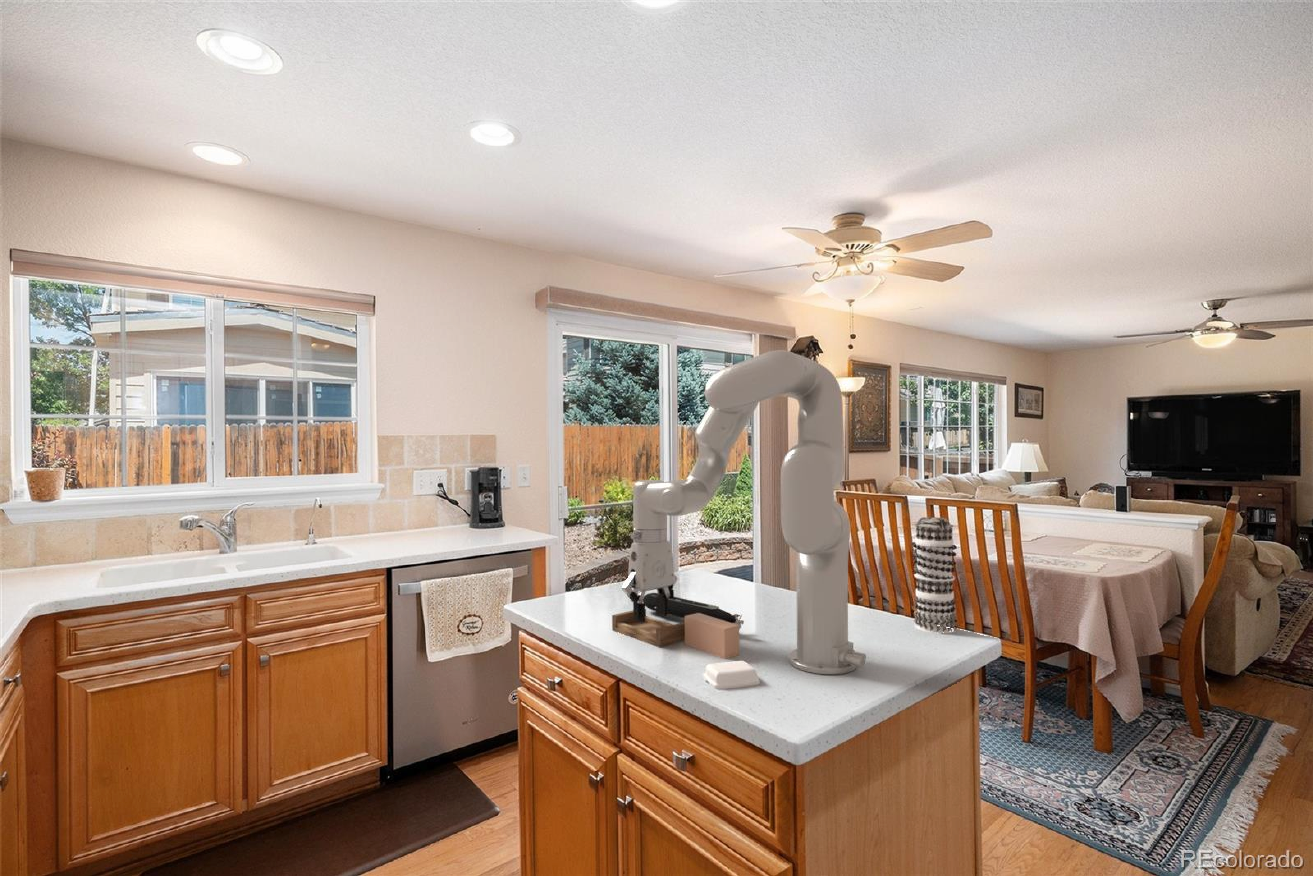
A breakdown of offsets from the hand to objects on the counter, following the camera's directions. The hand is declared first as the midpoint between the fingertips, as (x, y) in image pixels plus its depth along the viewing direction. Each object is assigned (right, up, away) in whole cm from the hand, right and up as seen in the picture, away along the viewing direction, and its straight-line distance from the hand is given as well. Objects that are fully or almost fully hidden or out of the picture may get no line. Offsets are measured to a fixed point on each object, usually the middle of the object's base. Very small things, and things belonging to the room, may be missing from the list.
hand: (650, 617), depth 140 cm
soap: (+15, -4, -27) cm, 31 cm away
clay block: (+12, -4, -10) cm, 17 cm away
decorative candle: (+64, -4, +3) cm, 64 cm away
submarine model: (+9, -4, +8) cm, 13 cm away
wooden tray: (0, -4, 0) cm, 4 cm away
